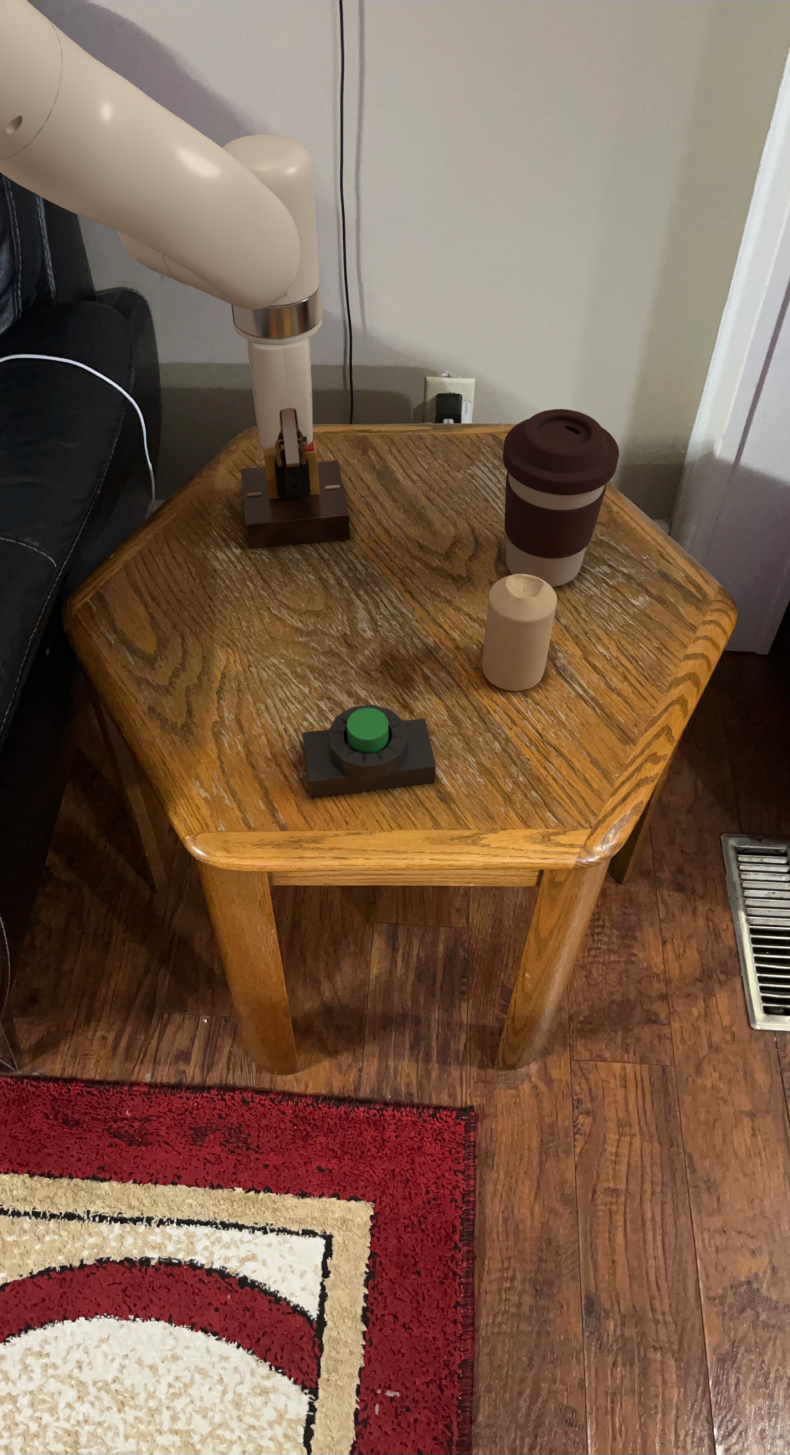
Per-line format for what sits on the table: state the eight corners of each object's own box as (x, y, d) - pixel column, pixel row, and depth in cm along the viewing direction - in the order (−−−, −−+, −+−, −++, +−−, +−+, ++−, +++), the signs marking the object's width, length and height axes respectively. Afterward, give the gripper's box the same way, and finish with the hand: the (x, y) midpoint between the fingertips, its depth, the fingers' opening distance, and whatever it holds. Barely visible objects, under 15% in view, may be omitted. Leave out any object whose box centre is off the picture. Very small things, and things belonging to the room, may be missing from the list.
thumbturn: (268, 499, 96) (263, 454, 92) (267, 486, 97) (262, 441, 93) (319, 494, 97) (316, 449, 92) (317, 482, 98) (314, 437, 94)
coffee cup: (509, 607, 91) (527, 472, 79) (478, 539, 97) (491, 405, 85) (609, 590, 92) (641, 455, 81) (573, 525, 98) (597, 391, 87)
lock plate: (249, 548, 96) (245, 523, 94) (243, 492, 102) (240, 467, 99) (350, 539, 97) (349, 513, 94) (339, 484, 103) (338, 458, 100)
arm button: (350, 756, 75) (349, 742, 74) (345, 724, 77) (344, 710, 76) (391, 751, 75) (391, 737, 74) (385, 719, 77) (385, 705, 76)
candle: (544, 648, 88) (559, 563, 80) (544, 694, 84) (559, 609, 76) (482, 644, 88) (491, 558, 80) (480, 689, 84) (489, 604, 77)
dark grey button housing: (310, 803, 77) (307, 773, 74) (303, 743, 80) (300, 712, 77) (436, 788, 78) (438, 757, 75) (423, 729, 81) (424, 698, 78)
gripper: (227, 264, 87) (250, 442, 101) (236, 359, 77) (260, 541, 91) (311, 258, 88) (322, 436, 102) (331, 351, 78) (340, 534, 92)
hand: (292, 484), depth 96 cm, fingers closed on thumbturn, 2 cm apart
